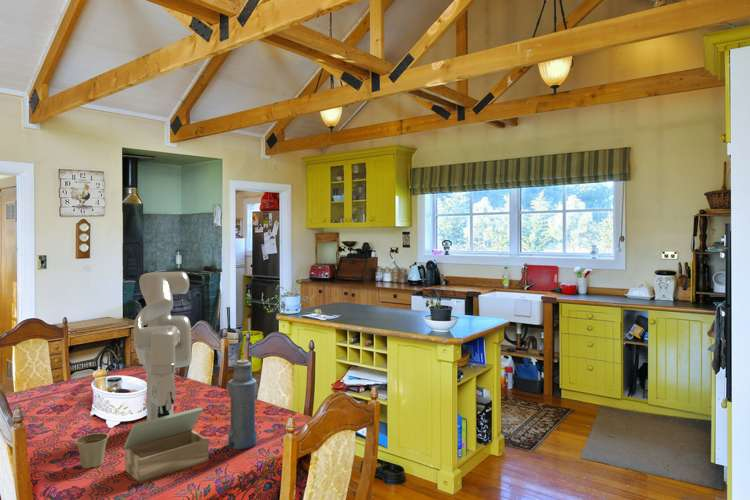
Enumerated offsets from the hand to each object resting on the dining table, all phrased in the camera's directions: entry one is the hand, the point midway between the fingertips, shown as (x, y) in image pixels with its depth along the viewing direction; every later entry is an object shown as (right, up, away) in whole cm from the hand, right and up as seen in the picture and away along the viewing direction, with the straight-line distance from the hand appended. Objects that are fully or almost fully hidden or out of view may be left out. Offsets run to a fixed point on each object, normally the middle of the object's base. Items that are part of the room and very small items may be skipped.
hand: (163, 424), depth 168 cm
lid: (+1, -1, -1) cm, 2 cm away
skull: (-36, -11, +80) cm, 89 cm away
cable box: (+2, -13, -2) cm, 13 cm away
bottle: (+22, -13, +15) cm, 29 cm away
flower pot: (-23, -13, -1) cm, 26 cm away
